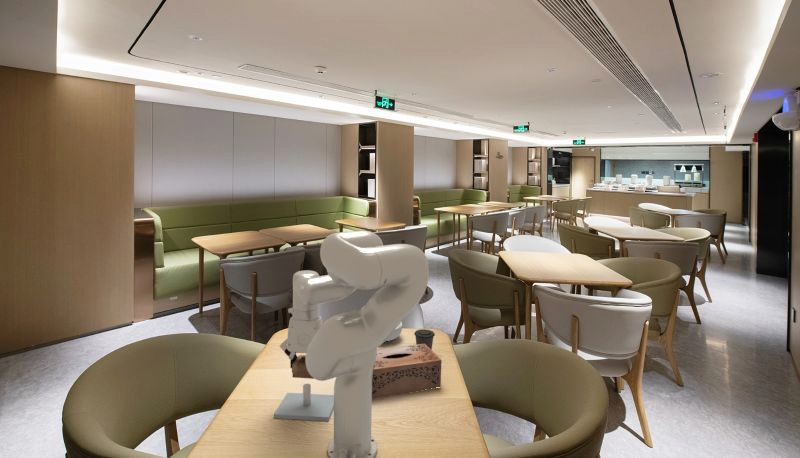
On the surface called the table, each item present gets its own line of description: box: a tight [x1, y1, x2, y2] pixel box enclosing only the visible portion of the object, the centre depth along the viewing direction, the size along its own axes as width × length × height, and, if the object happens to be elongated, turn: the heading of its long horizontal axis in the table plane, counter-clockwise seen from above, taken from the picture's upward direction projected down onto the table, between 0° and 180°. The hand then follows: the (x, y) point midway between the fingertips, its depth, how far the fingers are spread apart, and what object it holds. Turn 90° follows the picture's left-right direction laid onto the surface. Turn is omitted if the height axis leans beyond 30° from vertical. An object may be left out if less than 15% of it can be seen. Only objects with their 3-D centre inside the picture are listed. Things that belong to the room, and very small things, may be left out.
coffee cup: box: [413, 328, 436, 351], centre depth 163 cm, size 8×8×10 cm
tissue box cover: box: [372, 344, 443, 400], centre depth 140 cm, size 26×14×10 cm, turn 109°
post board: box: [273, 383, 334, 422], centre depth 124 cm, size 12×16×7 cm
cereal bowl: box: [384, 321, 403, 343], centre depth 178 cm, size 17×17×7 cm
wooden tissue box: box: [291, 354, 315, 380], centre depth 124 cm, size 6×6×4 cm
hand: (306, 370), depth 124 cm, fingers closed on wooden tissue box, 6 cm apart
